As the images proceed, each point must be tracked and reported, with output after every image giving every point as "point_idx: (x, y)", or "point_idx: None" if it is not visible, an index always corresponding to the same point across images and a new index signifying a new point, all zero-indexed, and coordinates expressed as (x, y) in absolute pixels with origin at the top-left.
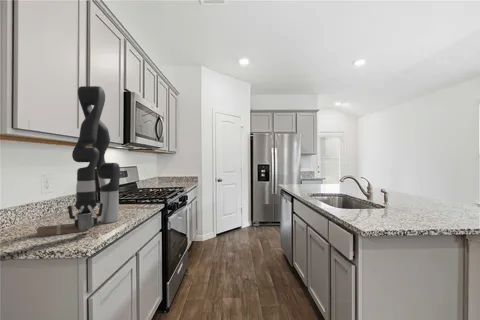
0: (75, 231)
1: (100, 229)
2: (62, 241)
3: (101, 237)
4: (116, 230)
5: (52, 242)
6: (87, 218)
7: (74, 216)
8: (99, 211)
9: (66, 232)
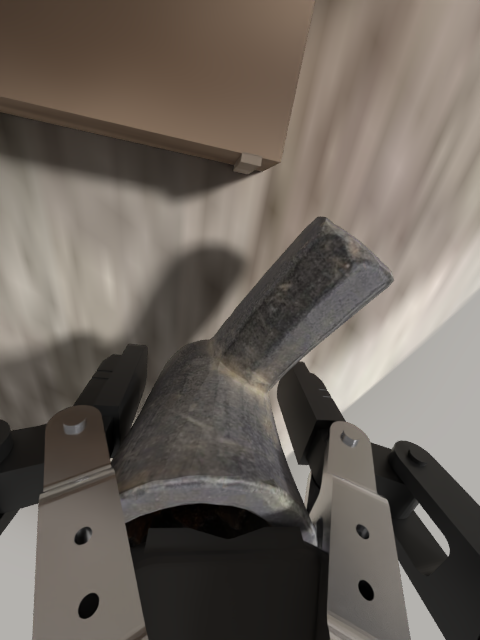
0: (138, 142)
1: (357, 200)
2: (68, 383)
3: (283, 420)
4: (418, 322)
5: (2, 371)
6: (220, 533)
7: (38, 492)
8: (409, 572)
9: (43, 120)
